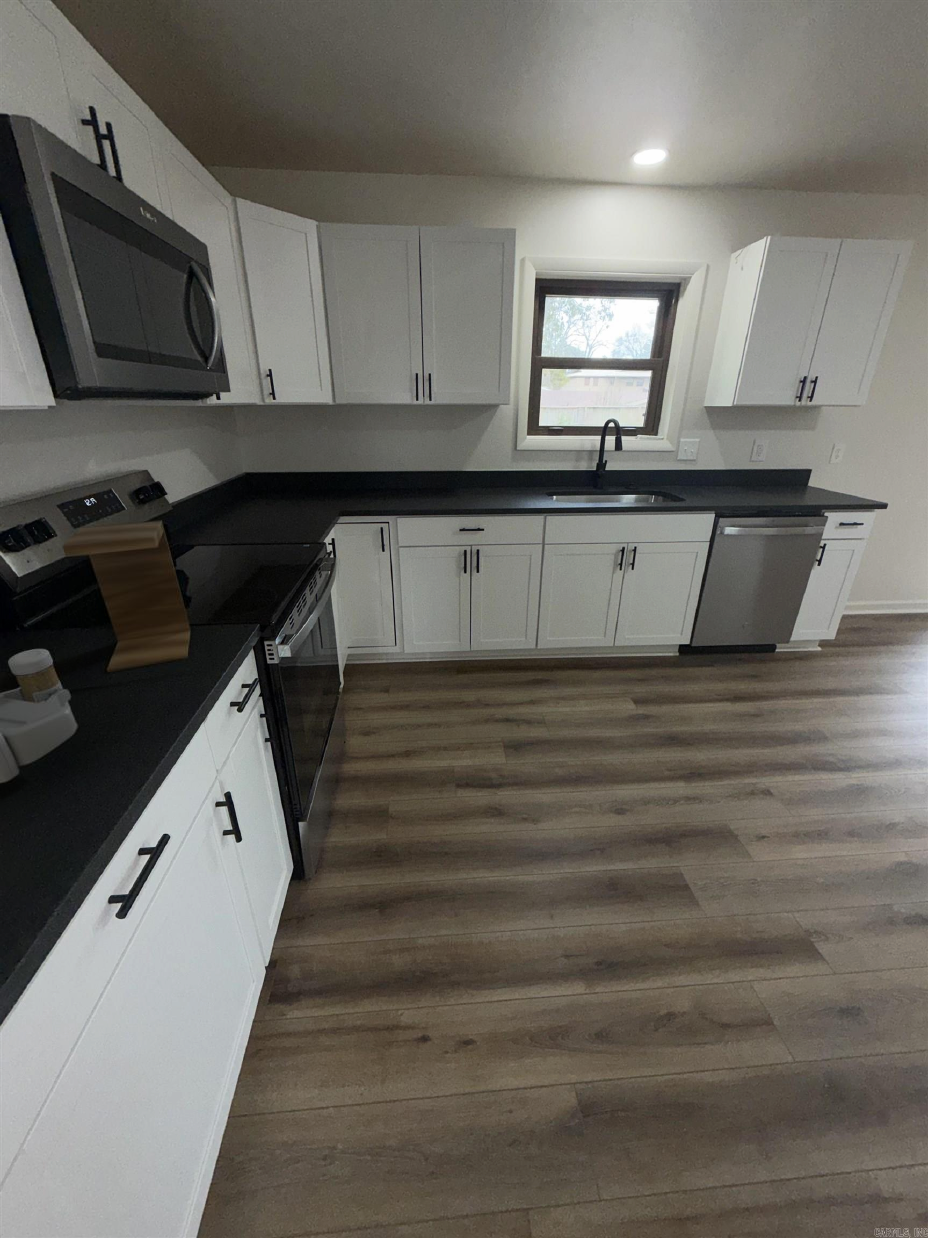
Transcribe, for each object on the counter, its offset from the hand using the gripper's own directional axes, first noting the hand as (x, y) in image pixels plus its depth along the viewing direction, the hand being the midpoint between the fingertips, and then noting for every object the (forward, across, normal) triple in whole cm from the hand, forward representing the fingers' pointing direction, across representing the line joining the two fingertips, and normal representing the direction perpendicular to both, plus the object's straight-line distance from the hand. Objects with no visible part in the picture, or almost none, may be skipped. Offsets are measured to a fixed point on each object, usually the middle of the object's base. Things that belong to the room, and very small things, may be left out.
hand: (50, 690), depth 73 cm
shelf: (+29, -12, -12) cm, 33 cm away
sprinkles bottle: (-1, 0, -7) cm, 7 cm away
